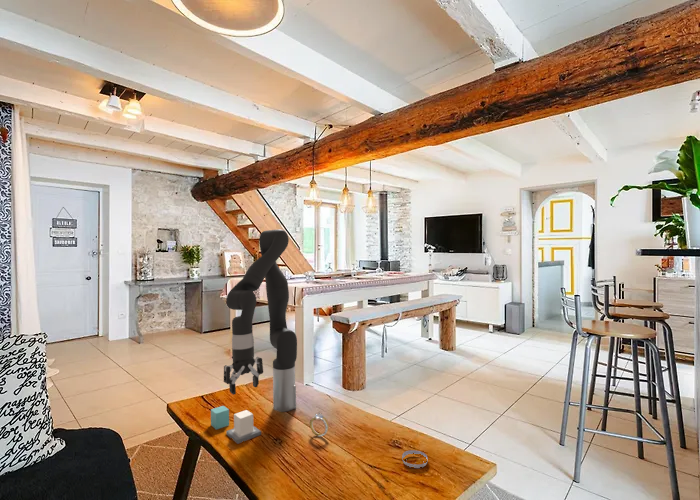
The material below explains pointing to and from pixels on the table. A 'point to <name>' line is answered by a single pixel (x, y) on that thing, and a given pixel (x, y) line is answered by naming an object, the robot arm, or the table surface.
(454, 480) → the table surface
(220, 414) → the teal brick
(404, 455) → the gray circular band
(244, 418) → the cream brick
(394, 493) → the table surface
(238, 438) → the baseplate
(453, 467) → the table surface
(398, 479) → the table surface
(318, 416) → the ring
